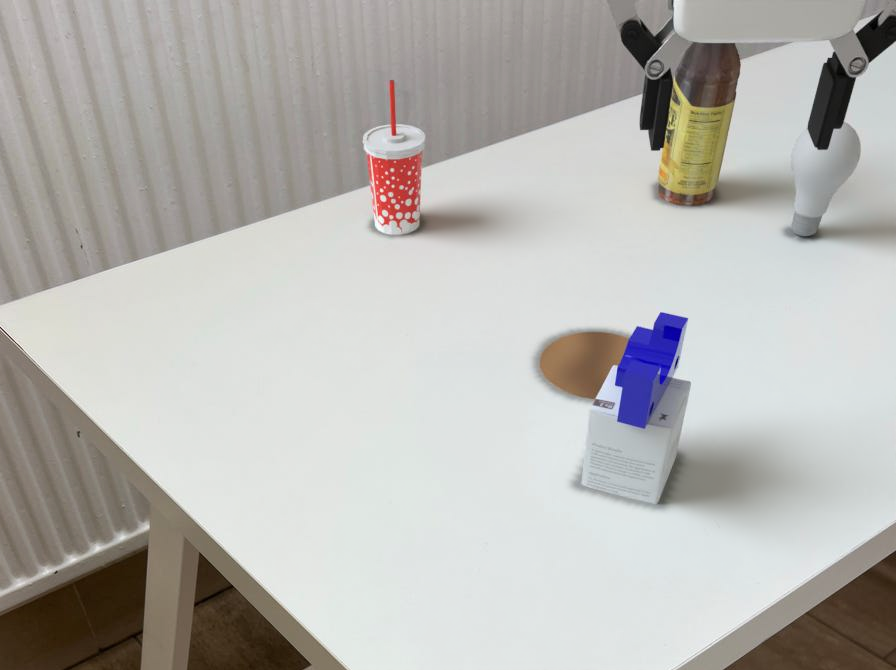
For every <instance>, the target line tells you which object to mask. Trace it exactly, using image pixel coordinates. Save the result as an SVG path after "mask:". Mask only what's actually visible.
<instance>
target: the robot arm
mask: <svg viewBox="0 0 896 670" xmlns="http://www.w3.org/2000/svg"><path fill="white" fill-rule="evenodd" d="M866 1H867V0H667V7H668V11H671V13H670V14H669V16H668V17H667V18H666V19H665V20H664V21H663V23H662V24H661V25H660V26H659V27H658V28H657V29H656V31H654V33H652V32H651V30H650V29H649V28H648V27H647V25H646V24H645V23H644V22H643V20H642V19H641V18H640V16H639V13H638V10H637V6H636V4H637V2H638V0H606V2H607V4H608V7H609V10H610V12H611V14H612V19H613V21H614V24H615V26H616V28H617V31H618V34H619V37H620V40H621V43H622V45H623V46H624V47H625V48H626V50H627V51H628V52H629V53H630V54H631V56H632V57H633V58H634V60H635V61H636V62H637V63H638V64H639V66H640V67H641V68H642V70H644V81H643V88H642V96H641V105H640V111H639V112H640V113H639V131H647V132H648V140H649V147H650V151H652V152H657V151H658V152H659V151H661V149H663V148H664V143H665V136H666V129H667V123H668V116H669V109H670V102H671V96H672V89H673V80H674V77H673V75H672V70H671V67H672V66H673V65H674V64H676V62H677V61H678V60H679V59H680V57H682V56H683V55H684V53H685V51H686V50H687V49H688V48H689V47H690V46H691V44H692V43H693V42H699V43H735V44H757V43H758V44H761V43H763V44H765V43H810V42H824V41H825V42H827V41H829V44H830V45H831V47H832V49H833V52H832V55H831V57H827V59H826V62H823V64H822V68H821V71H820V75H819V79H818V82H817V86H816V91H815V95H814V99H813V101H812V102H813V103H812V106H811V110H810V114H809V117H808V122H807V128H808V132H809V134H810V137H811V139H812V142H813V144H814V147H817V149H818V150H827V149H828V148H829V144H830V141H831V137H832V134H833V130H834V129H841V127H842V125H843V123H844V122H845V120H846V117H847V116H846V115H847V112H848V108H849V104H850V101H851V97H852V95H853V91H854V88H855V83H856V80H857V78H859V77H861V76H862V75H863V74H864V73H865V72H866V71H867V70H868V69H869V68H868V67H869V64H870V63H872V62H873V61H874V60H875V59H876V58H878V57H879V56H880V55H881V54H883V53H884V52H885V51H886V50H887V49H889V48H890V47H891V46H892V45H894V43H896V0H889V2H888V3H887V4H888V5H887V6H886V7H885V8H884V9H883V10H881V11H880V12H879V13H877V15H875V16H874V17H872V19H871V20H870V21H868V22H867V23H866V24H865V25H864V26H863V27H861V28H860V29H859V30H857V32H855V30H854V29H855V28H856V26H857V24H858V23H859V21H860V18H861V17H862V14H863V11H864V8H865V4H866Z"/></svg>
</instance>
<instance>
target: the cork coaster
mask: <svg viewBox="0 0 896 670" xmlns="http://www.w3.org/2000/svg"><path fill="white" fill-rule="evenodd" d="M629 338H630V337H627V336H624V335H620V334H618V333H617V334H616V333H612V332H606V331H605V332H604V331H582V332H575V333H571V334H566V335H564V336H561V337H559V338H557V339H555V340H553V341H552V342H550V343H549V344H548V345H546V347H545V348H544V349H543V350H542V353H541V354H540V357H539V361H538V362H539V369H540V372H541V374H542V375H543V377H544V378H545V380H546V381H548V383H550V385H552V386H554V387H555V388H557V389H559V390H560V391H563V392H564V393H567V394H569V395H572V396H576V397H580V398H584V399H591V400H595V399H596V397H597V395H598V393H599V391H600V389H601V387H602V386H603V384H604V382H605V380H606V378H607V376H608V374H609V372H610V370H611V368H612V367H613V365H617V366H618V365H619V364H620V362H621V359H622V357H623V355H624V352H625V349H626V346H627V343H628V340H629Z"/></svg>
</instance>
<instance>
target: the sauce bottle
mask: <svg viewBox="0 0 896 670" xmlns="http://www.w3.org/2000/svg"><path fill="white" fill-rule="evenodd" d="M741 63H742V62H741V58H740V54H739V50H738V48H737V46H736V43H699V42H693V43H692V44H691V46H690V47H689V48H688V49H687V50H686V51H685V52H684V53H683V55H682V58H681V59H680V62H679V64H678V66H677V67H676V69H675V71H674V74H673V89H672V96H671V102H670V109H669V116H668V123H667V129H666V136H665V143H664V148H661V156H660V161H659V167H658V174H657V181H658V184H657V192H658V195H659V197H660V198H661V199H662V200H664V201H665V202H668V203H671V204H673V205H677V206H687V207H689V206H693V207H694V206H701V205H704V204H707V203H708V202H709V201H710V200H712V199H713V197H714V195H715V193H716V188H717V185H718V182H719V178H720V175H721V174H720V173H721V169H722V165H723V161H724V155H725V151H726V150H725V149H726V146H727V140H728V136H729V131H730V127H731V122H732V118H733V111H734V108H735V103H736V97H737V87H738V81H739V79H740V75H741V67H742V64H741Z"/></svg>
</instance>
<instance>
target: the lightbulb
mask: <svg viewBox="0 0 896 670" xmlns="http://www.w3.org/2000/svg"><path fill="white" fill-rule="evenodd" d="M861 147H862V145H861V139H860V137H859V134H858V132H857V131H856V129H855V128H854V127H853V126H852V125H851V124H849V123H848V122H846V121H844V123H843V125H842V127H841V129H834V130H833V134H832V137H831V141H830V144H829V148H828V149H827V150H818V149H817V147H814V144H813V142H812V139H811V137H810V134H809V132H808V127H807V128H805V130H803V131H802V133H801V134H800V135H799V136H798V138H796V140H795V143H794V145H793V147H792V149H791V154H790V168H791V173H792V177H793V181H794V186H795V198H794V203H793V210H794V213H793V217H792V222H791V226H790V229H791V231H792V232H793V233H794V234H796V235H798V236H799V237H810V236H813V235H815V234H817V232H818V229H819V226H820V224H821V221H822V218H823V216H824V215H825V214H826V212H827V211H828V208H829V206H830V203H831V201H832V199H833V196H835V194H836V193H837V191H839V189H840V188H841V187H842V186H843V185H844V184H845V183H846V181H847V180H848V179H849V178H850V177H851V176H852V174H854V172H855V170H856V168H857V167H858V165H859V162H860V158H861V152H862V149H861Z"/></svg>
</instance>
